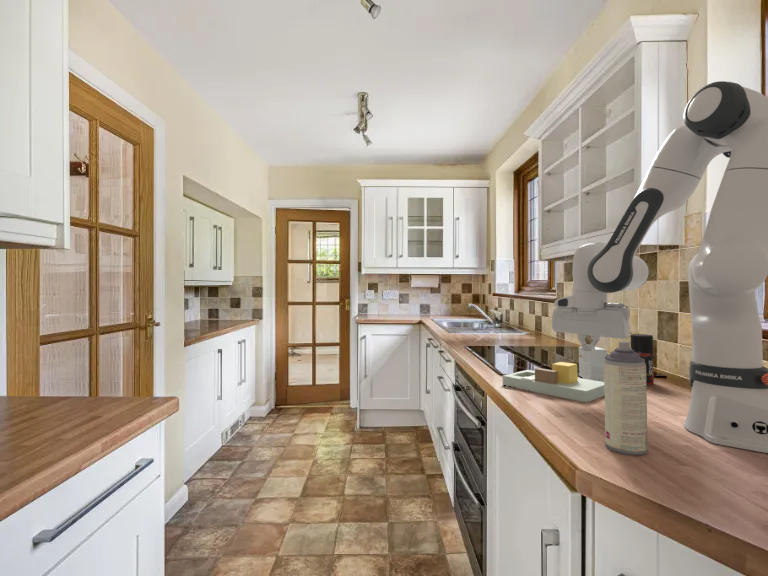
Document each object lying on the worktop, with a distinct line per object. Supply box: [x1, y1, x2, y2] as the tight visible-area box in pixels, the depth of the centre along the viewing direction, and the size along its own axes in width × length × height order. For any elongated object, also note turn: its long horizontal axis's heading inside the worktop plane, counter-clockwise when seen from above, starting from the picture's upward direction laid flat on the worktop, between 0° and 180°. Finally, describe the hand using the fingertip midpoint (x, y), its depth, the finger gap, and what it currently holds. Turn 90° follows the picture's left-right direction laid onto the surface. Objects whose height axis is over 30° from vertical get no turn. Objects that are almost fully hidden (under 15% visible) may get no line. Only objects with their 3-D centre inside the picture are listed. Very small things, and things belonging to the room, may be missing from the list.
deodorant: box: [630, 333, 655, 386], centre depth 127 cm, size 6×6×15 cm
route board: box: [502, 367, 605, 404], centre depth 121 cm, size 26×14×6 cm, turn 38°
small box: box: [578, 346, 608, 382], centre depth 132 cm, size 8×6×10 cm
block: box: [551, 361, 579, 384], centre depth 118 cm, size 5×5×5 cm
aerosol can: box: [604, 341, 649, 457], centre depth 76 cm, size 7×7×20 cm
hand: (588, 351), depth 113 cm, fingers closed
